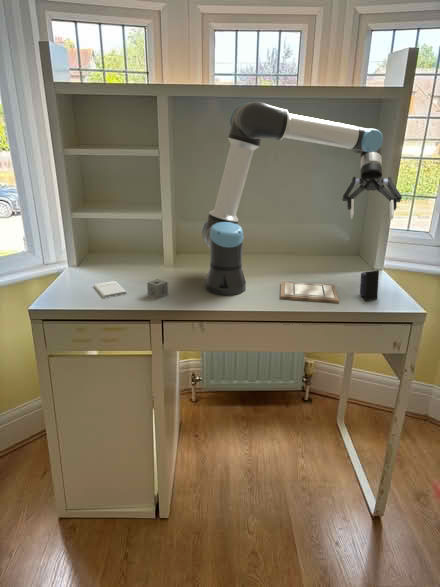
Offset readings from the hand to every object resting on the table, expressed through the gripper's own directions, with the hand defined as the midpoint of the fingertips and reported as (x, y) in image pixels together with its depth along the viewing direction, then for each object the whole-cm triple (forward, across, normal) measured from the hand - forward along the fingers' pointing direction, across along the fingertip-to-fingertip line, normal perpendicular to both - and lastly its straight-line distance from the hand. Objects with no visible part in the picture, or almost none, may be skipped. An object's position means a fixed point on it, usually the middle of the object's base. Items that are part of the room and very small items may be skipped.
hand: (371, 217), depth 148 cm
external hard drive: (+34, +92, 0) cm, 98 cm away
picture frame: (+26, +21, -10) cm, 35 cm away
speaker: (+26, 0, -12) cm, 28 cm away
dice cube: (+35, +73, +1) cm, 81 cm away
